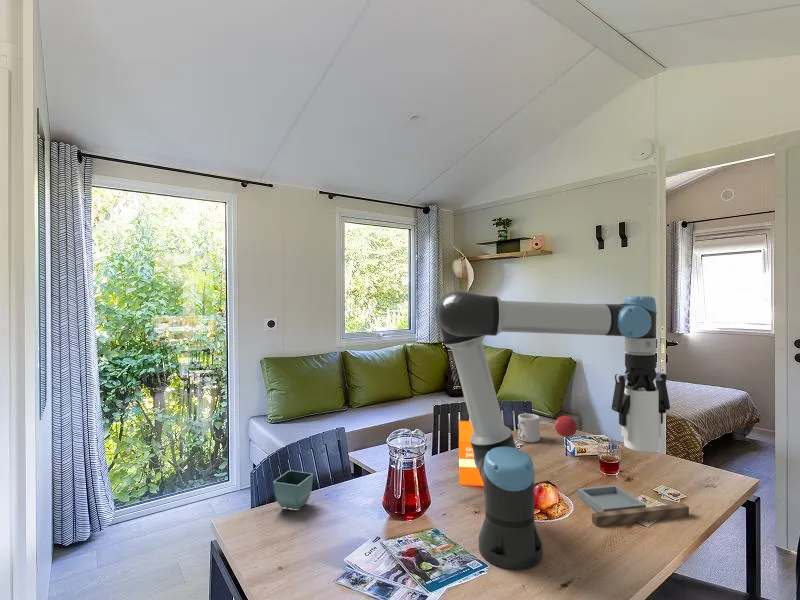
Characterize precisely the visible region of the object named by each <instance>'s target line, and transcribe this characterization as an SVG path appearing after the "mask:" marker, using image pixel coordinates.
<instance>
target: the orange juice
mask: <svg viewBox="0 0 800 600" xmlns="http://www.w3.org/2000/svg"><path fill="white" fill-rule="evenodd" d="M472 434H473V428H472V424H471V420H458V458H459V459H458V466H459V467H458V468H459V469H458V471H459V475H458V476H459V485H460V486H462V485H463V486H477V487H480V486H481V487H484V484H483V481H482V479H481V476H480V473H479V471H478V469H477V467H476V465H475V462H474V454H473V449H472V446H471V442H470V438H471V436H472Z"/></svg>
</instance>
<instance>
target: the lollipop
mask: <svg viewBox="0 0 800 600" xmlns="http://www.w3.org/2000/svg"><path fill="white" fill-rule="evenodd" d="M554 428H555V431H556V432H557V434H558V435H560V436H561V437H563V438H565V439H564V440H565V456H568V439H567V438H571V437H573V436H574V435H575V434H576V432H577V428H578V426H577V423H576V421H575V420H574V418H573V417H571V416H568V415H562V416H559V417H557V418H556V420H555V423H554Z"/></svg>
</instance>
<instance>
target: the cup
mask: <svg viewBox="0 0 800 600" xmlns="http://www.w3.org/2000/svg"><path fill="white" fill-rule="evenodd" d="M631 387H633V386H631ZM655 390H656V391H649V392H648V391H646V389H645V388H644V387H643V388H639V389H638V391H635V390H630V389H627V388H626V385H625V390H624V393H625V394H626V395H630V408H629V410H628V413H627V414H629V415H630V439H626V438H624V437H623V441H624V442H623V445H624V446H625V447H626V448H627V449H630V450H631V451H635V452H640V453H656V452H658V451H659V450H660V442H659V441H660V440H659V439H660V437H659V396H658V389H657V388H656V389H655Z"/></svg>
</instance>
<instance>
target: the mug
mask: <svg viewBox="0 0 800 600" xmlns="http://www.w3.org/2000/svg"><path fill="white" fill-rule="evenodd" d="M517 418H518V423H517V429H518V432H517V437H518V439H519V441H521V442H524V443H531V444H532V443H537V442H540V440H541V433H540V416H539V415H537V414H534V413H520V414H518V415H517Z"/></svg>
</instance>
